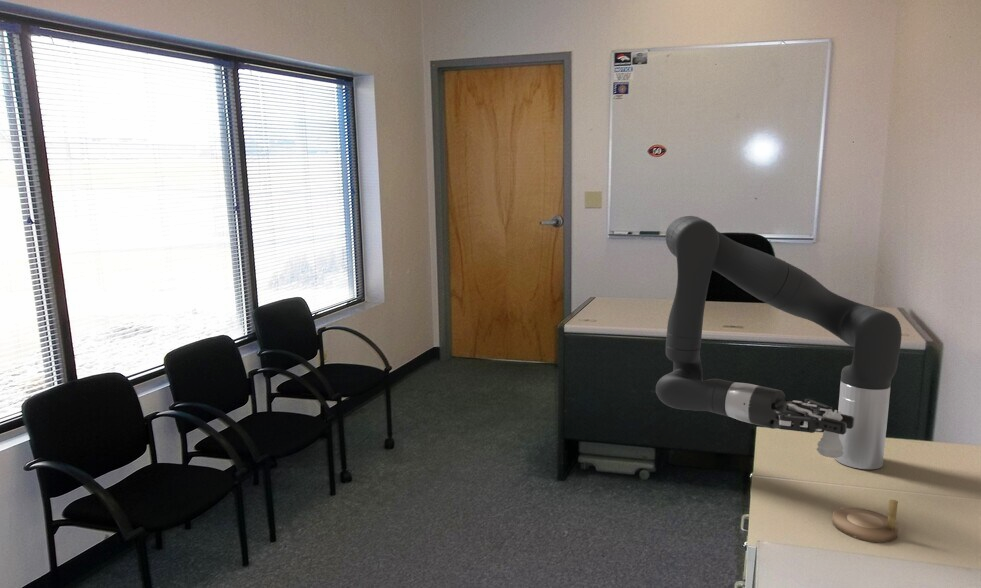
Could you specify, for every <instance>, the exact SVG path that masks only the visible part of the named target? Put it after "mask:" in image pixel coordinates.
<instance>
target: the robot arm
mask: <svg viewBox="0 0 981 588" xmlns="http://www.w3.org/2000/svg"><path fill="white" fill-rule="evenodd" d="M664 236H665V244H666V246H667V249H668V250H669V252H670V253H671V255H673V256H674V257H675V258H676V264H677V265H676V266H677V269H676V271H677V281H676V289H675V294H674V298H673V301H672V304H671V308H670V312H669V316H668V319H667V326H666V338H665V339H666V340H665V356H666V358H667V359H668V360H669V361H671V362H673V363H672V365H673V369H672V371H670V372H669V373H667V374H664V375H663V376H662V377H660V378H659V380H658V381H657V383H656V385H655V393H656V396H657V398H658V400H660V401H661V403H663V404H664V405H666V406H667V407H670V408H672V409H676V410H684V411H685V410H686V411H695V412H696V411H697V412H710V413H714V414H717V415H721V416H725V417H728V418H729V417H730V418H732V419H736V420H737V421H741V422H745V423H748V424H752V425H757V426H761V427H764V428H769V429H777V428H778V429H780V430H785V431H794V432H804V433H809V434H814V433H815V432H816V431H817V432H822V431H824V430H825V431H829V432H833V433H837V434H839V438H840V441H841V444H842V445H843V450H842V451H843V455H842V456H840V457H837V458H834V459H835V461H837V462H838V463H840V464H842V465H844V466H846V467H847V466H848V467H850V468H853V469H855V468H856V469H859V470H860V469H861V470H878V469H881V468H882V467H883V465H884V455H885V454H884V453H885V447H886V436H887V428H888V427H887V426H888V419H889V418H888V417H889V408H890V407H889V405H890V396H891V395H890V394H891V384H892V380H893V378H894V377H895V375H896V373H897V369H898V365H899V357H900V352H901V344H902V327H901V324H900V321H899V319H898V318H897V317H896V316H895V315H893V314H892V313H890V312H888V311H885V310H883V309H879V308H877V307H873V306H870V305H867V304H866V305H865V304H863V303H859V302H857V301H854V300H851V299H849V298H845V297H843V296H841V295H839V294H836V293H835V292H833V291H831V290H829V289H828V288H826V287H825V286H824V285H823V284H822V283H820V281H818V280H817V279H816V278H814V277H813V276H812V275H811V274H809V273H807V272H806V271H804V270H803V269H800V268H798V267H797V266H795V265H793V264H791V263H789V262H787V261H785V260H783V259H781V258H778V257H776V256H774V255H772V254H769V253H766V252H763V251H762V250H759V249H756V248H753V247H750V246H747V245H744V244H743V243H739V242H737V241H735V240H733V239H732V238H729V237H728V236H726V235H724V234H723V233H722V232H720V231H718V230H717V229H716V227H715V226H714V225H713V224H712V223H711V222H709V221H707V220H706V219H703V218H701V217H699V216H695V215H685V216H681V217H678V218H675V219H674V220H672V222H671V223H670V224H669V225H668V226H667V228H666V231H665V235H664ZM713 271H714V272H716V273H718V274H720V275H721V276H723V277H725V279H727V280H728V281H730V282H732V283H733V284H735V285H736V286H737V287H738V288H740V289H742V290H743V291H745V292H746V293H748V294H750V295H751V296H753V297H755V298H756V299H758V300H759V301H762V302H763V303H765V304H767V305H770V306H771V307H773V308H775V309H777V310H780V311H782V312H785V313H787V314H789V315H792V316H794V317H798V318H800V319H804V320H808V321H810V322H812V323H814V324H816V325H818V326H820V327H822V328H823V329H824V330H827V331H828V332H830V333H831V334H833V335H834V336H835V337H837V338H839V339H840V340H841V341H843V342H844V343H845V344H847V345H849V346H850V347H852V348H853V355H852V360H851V364H849V365H845V366H843V368H842V370H841V372H840V385H839V399H838V408H837V409H838V410H837V412H838V411H840V412H841V416H842V417H843V419H842V420H841V421H839V420H834V419H830V418H824V417H823V414H824V413H825V410H828V412H829V409H832V412H834V410H833V407H832V406H831V405H830V406H829V405H826V404H823V403H822V402H818V401H816V400H813V399H810V398H804V402H803V401H801V400H792V401H790V400H788V399H787V398H786V394H785V393H784V391H783V390H781V389H776V388H773V387H772V388H771V387H767V386H761V385H757V384H753V383H748V382H747V383H746V382H735V381H731V380H725V379H722V378H721V379H720V378H708V379H704V378H703V377H704V376H703V375H704V374H703V366H702V361H701V355H700V354H701V346H702V345H701V344H702V335H703V323H704V315H705V314H704V313H705V305H706V301H707V300H706V299H707V295H708V290H709V285H710V280H711V276H712V272H713Z"/></svg>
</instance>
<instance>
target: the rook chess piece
mask: <svg viewBox="0 0 981 588" xmlns="http://www.w3.org/2000/svg"><path fill="white" fill-rule="evenodd" d="M832 411H833V412H832ZM822 414H823V417H824V418H830V419H834V420H839V421H841V420H842V419H843V417H842V416H841V412H840V411H838V410H837V409H834V410H833V408H832V409H829V412H828V410H825V413H822ZM817 446H818V447H817V448H816V451H817V453H818V454H819V455H820V456H823V457H827V458H830V459H831V458H832V459H833V458H834V459H835V458H837V457H840V456H842V455H843V451H842V450H843V445H842V444H841V441H840V438H839V434H837V433H833V432H829V431H825V430H823V433H822V436H821V437H820V440H819V441H818V442H817Z"/></svg>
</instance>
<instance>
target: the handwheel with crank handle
mask: <svg viewBox="0 0 981 588" xmlns="http://www.w3.org/2000/svg"><path fill="white" fill-rule="evenodd" d="M888 502H889V504H888V512H887V513H888V514H887V515H885V514H883V513H880V512H878V511H875V510H870V509H866V508H863V507H861V508H860V507H853V506H851V507H849V506H848V507H841V508H837V509H835V510H834V511H833V512H832V520H831V521H832V525H833V526H834V527H835V528H836V529H837V531H840V532H841V533H843V534H844V535H847V536H849V537H852V538H854V539H858V540H862V541H864V542H871V543H888V542H893V541H894V540H896V539H897V538H898V536H899V529H900V528H899V525H898V523H897V514H898V507H899V506H898V505H899V502H898V500H896V499H889V501H888Z"/></svg>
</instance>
